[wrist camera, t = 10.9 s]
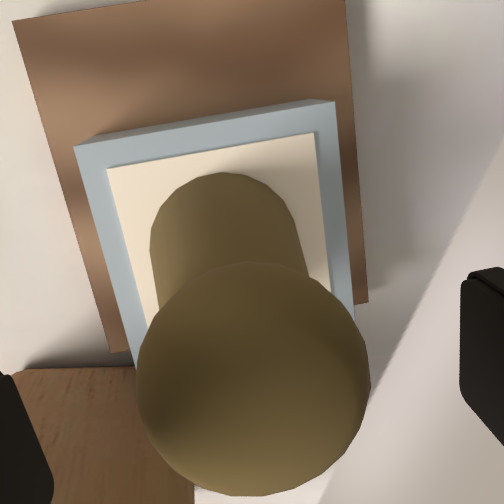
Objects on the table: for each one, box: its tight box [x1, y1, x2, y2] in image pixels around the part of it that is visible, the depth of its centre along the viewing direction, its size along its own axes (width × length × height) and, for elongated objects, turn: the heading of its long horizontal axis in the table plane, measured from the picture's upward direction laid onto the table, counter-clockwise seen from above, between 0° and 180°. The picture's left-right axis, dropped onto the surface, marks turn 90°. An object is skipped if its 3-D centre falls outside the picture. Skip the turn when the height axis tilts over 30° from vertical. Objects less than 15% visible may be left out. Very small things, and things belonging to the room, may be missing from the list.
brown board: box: [12, 0, 369, 354], centre depth 24 cm, size 16×14×2 cm
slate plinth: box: [73, 99, 355, 369], centre depth 22 cm, size 10×10×4 cm
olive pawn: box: [135, 172, 371, 496], centre depth 14 cm, size 6×6×11 cm
